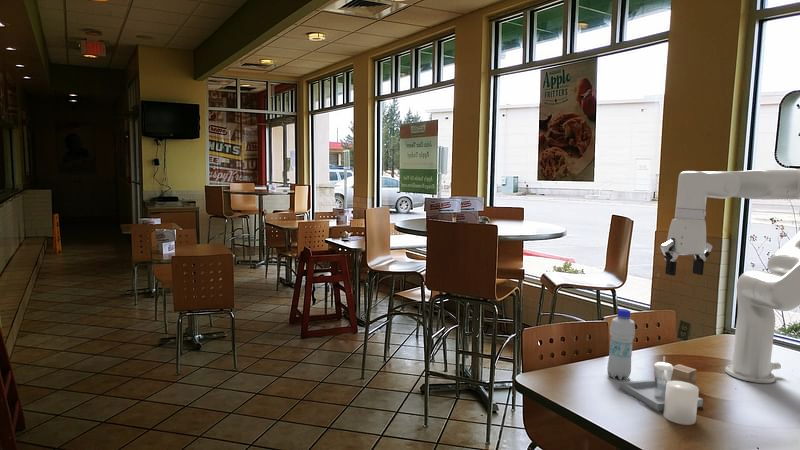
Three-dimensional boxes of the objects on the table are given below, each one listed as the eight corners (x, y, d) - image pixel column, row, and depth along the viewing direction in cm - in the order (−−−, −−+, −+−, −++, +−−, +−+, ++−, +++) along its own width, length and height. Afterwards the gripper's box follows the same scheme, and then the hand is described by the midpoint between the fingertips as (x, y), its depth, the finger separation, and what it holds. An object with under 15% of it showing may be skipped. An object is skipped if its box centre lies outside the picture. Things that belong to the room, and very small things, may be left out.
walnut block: (677, 381, 160) (678, 364, 159) (694, 386, 156) (696, 369, 155) (668, 384, 157) (670, 367, 156) (686, 390, 153) (688, 373, 152)
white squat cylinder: (679, 410, 139) (682, 379, 139) (702, 423, 133) (705, 390, 132) (656, 413, 137) (659, 381, 137) (678, 426, 131) (682, 393, 130)
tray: (661, 385, 155) (662, 378, 155) (702, 406, 142) (702, 399, 142) (619, 389, 151) (620, 382, 151) (657, 411, 138) (657, 404, 138)
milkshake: (670, 393, 148) (673, 357, 147) (670, 401, 144) (674, 363, 142) (651, 390, 150) (655, 354, 149) (651, 397, 145) (654, 360, 144)
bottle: (633, 382, 157) (639, 313, 155) (608, 379, 158) (613, 310, 156) (628, 374, 163) (634, 307, 161) (604, 371, 165) (609, 305, 162)
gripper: (703, 214, 164) (697, 271, 166) (655, 213, 159) (649, 272, 161) (724, 216, 157) (718, 276, 159) (675, 215, 152) (669, 277, 153)
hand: (684, 274), depth 160 cm, fingers open, 9 cm apart
